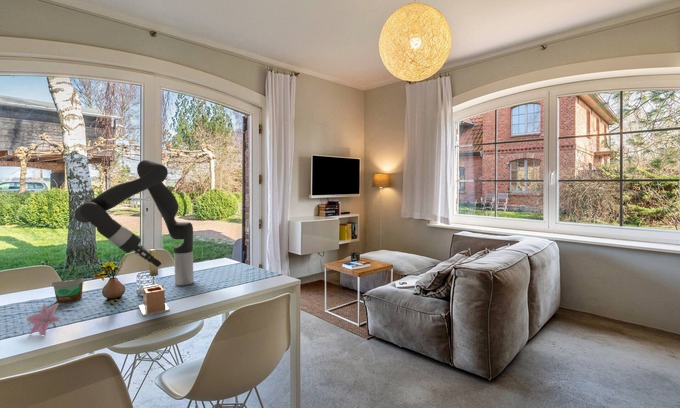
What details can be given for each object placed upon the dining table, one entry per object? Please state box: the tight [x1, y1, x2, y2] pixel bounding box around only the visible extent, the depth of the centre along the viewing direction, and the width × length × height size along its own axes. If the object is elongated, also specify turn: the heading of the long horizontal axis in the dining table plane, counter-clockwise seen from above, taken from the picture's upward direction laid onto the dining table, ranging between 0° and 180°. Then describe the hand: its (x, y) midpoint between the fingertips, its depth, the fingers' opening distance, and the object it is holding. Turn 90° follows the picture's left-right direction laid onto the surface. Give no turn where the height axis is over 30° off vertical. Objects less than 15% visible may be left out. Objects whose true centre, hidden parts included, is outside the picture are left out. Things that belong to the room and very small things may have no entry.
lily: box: [26, 302, 60, 336], centre depth 131 cm, size 12×12×10 cm
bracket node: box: [137, 283, 171, 317], centre depth 152 cm, size 13×10×10 cm
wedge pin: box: [148, 248, 159, 277], centre depth 149 cm, size 3×3×11 cm
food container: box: [51, 277, 85, 304], centre depth 161 cm, size 12×6×10 cm, turn 117°
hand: (158, 264), depth 150 cm, fingers closed on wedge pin, 3 cm apart
